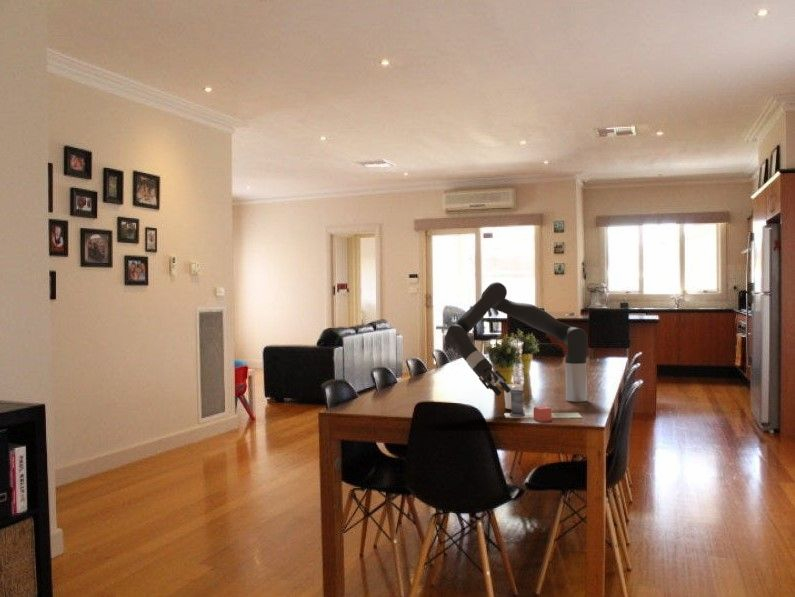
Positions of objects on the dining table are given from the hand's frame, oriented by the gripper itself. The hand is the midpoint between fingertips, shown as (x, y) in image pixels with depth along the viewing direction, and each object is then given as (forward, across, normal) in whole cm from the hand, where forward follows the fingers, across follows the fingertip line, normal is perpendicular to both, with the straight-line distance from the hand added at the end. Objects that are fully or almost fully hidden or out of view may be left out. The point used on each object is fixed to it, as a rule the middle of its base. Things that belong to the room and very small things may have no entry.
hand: (504, 393), depth 276 cm
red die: (+19, +3, +6) cm, 20 cm away
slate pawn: (+10, -1, -3) cm, 10 cm away
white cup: (+4, -16, -10) cm, 19 cm away
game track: (+16, -6, +3) cm, 17 cm away
